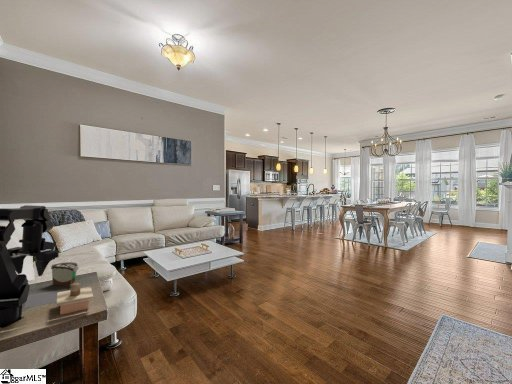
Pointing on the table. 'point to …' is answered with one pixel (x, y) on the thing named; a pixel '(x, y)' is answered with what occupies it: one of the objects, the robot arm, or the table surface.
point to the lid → (74, 295)
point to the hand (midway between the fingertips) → (29, 274)
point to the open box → (74, 307)
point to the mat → (42, 298)
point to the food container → (64, 273)
